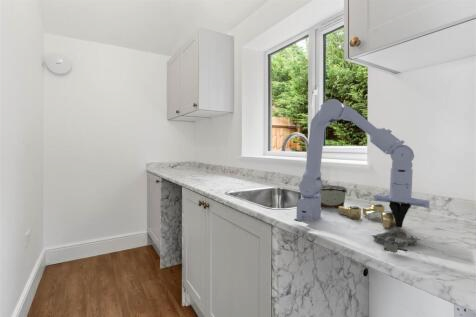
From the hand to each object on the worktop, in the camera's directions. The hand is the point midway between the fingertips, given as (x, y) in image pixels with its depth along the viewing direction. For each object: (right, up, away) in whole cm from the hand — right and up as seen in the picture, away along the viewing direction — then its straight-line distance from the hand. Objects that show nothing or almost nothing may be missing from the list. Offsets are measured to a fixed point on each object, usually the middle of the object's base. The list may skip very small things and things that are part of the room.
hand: (399, 226), depth 79 cm
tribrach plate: (-2, -2, +12) cm, 12 cm away
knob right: (-1, -1, +4) cm, 4 cm away
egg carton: (-7, -3, -10) cm, 13 cm away
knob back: (+1, 0, +16) cm, 16 cm away
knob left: (-9, 0, +15) cm, 17 cm away
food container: (-11, -1, +30) cm, 32 cm away
